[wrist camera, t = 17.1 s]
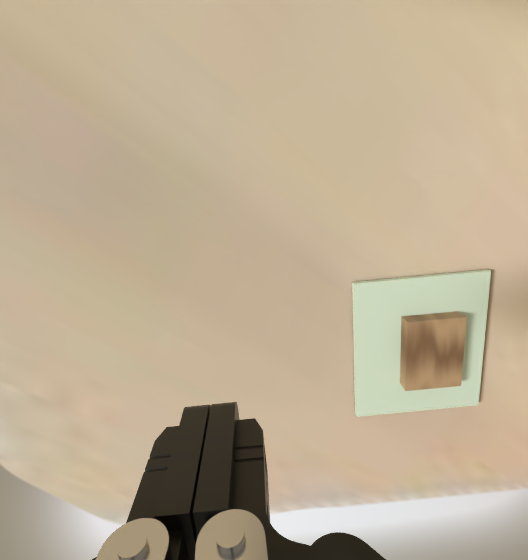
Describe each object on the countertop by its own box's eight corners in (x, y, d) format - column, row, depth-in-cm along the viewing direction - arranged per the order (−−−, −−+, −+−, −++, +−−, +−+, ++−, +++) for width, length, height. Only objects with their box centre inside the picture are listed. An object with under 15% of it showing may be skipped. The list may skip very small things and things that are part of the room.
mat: (352, 282, 38) (353, 283, 38) (487, 269, 38) (491, 270, 38) (355, 413, 43) (356, 416, 42) (475, 401, 43) (478, 404, 42)
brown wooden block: (407, 322, 37) (466, 316, 37) (401, 316, 39) (458, 311, 39) (405, 391, 40) (461, 385, 40) (399, 382, 41) (453, 377, 41)
